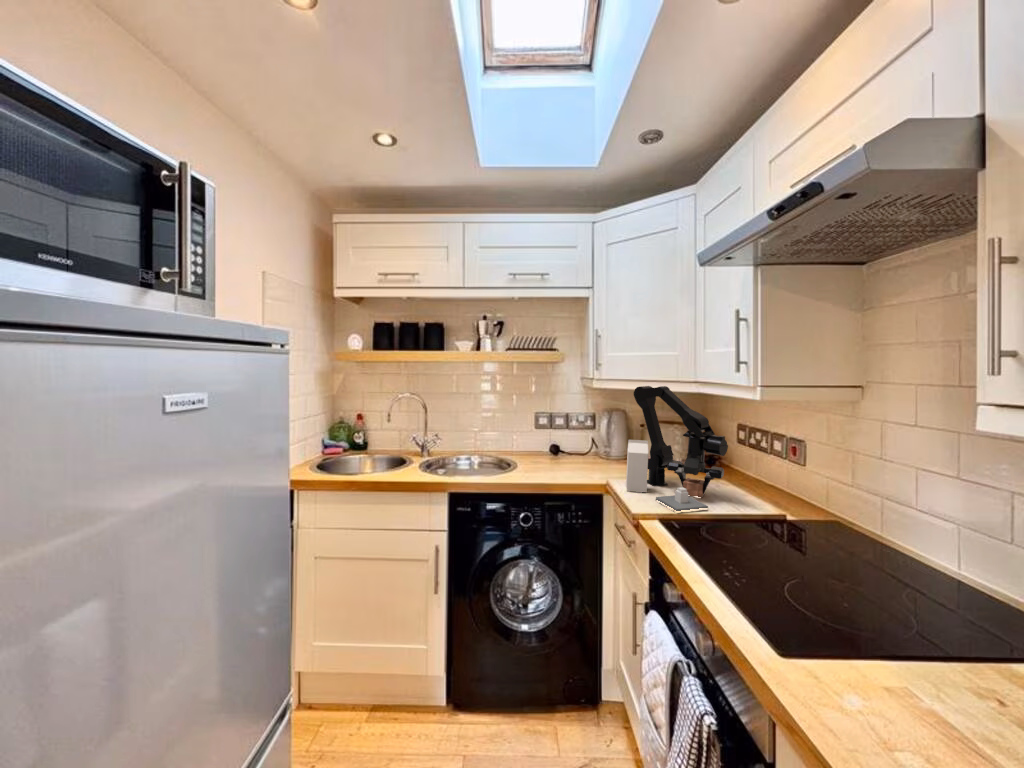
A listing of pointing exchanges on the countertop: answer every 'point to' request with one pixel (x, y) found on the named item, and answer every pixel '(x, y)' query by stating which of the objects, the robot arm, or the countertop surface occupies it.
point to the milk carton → (637, 465)
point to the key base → (683, 505)
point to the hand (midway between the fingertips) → (693, 491)
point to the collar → (694, 487)
